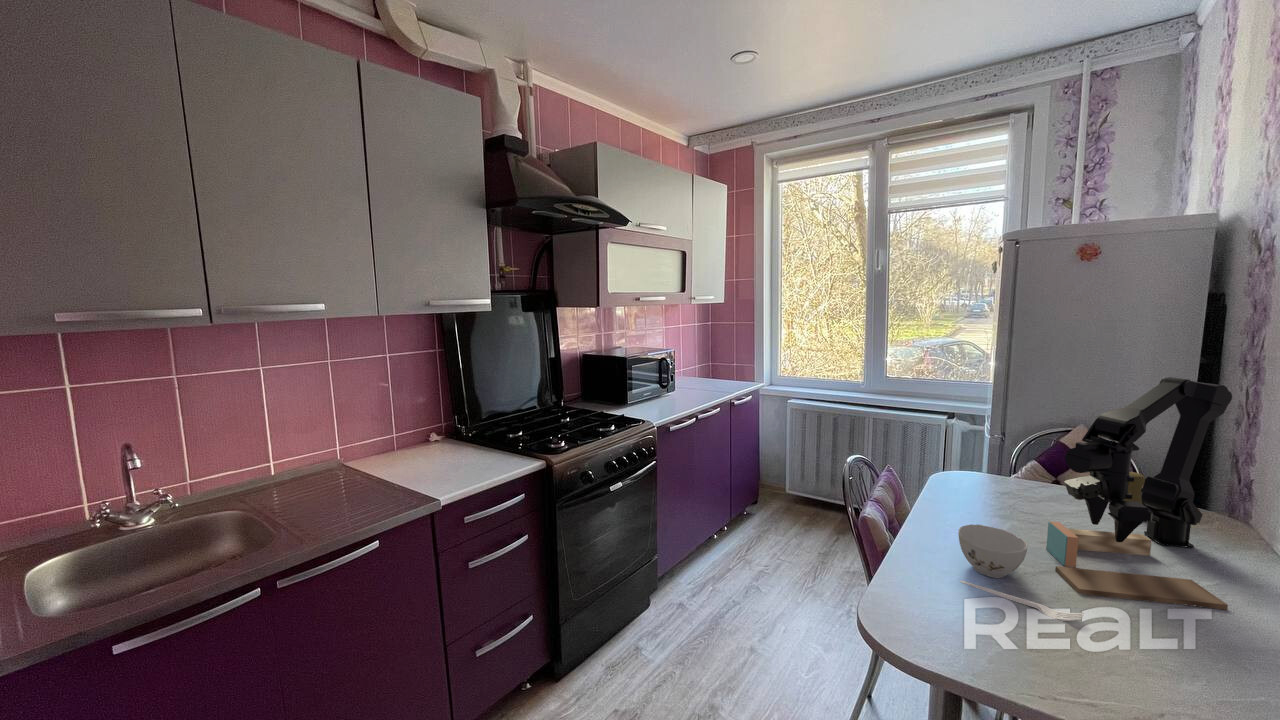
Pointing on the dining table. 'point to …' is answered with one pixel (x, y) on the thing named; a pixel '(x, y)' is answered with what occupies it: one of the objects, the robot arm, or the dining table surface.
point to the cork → (1136, 487)
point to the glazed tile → (1062, 544)
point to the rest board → (1139, 587)
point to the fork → (1034, 605)
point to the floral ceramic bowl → (991, 549)
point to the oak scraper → (1112, 542)
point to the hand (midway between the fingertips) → (1106, 532)
